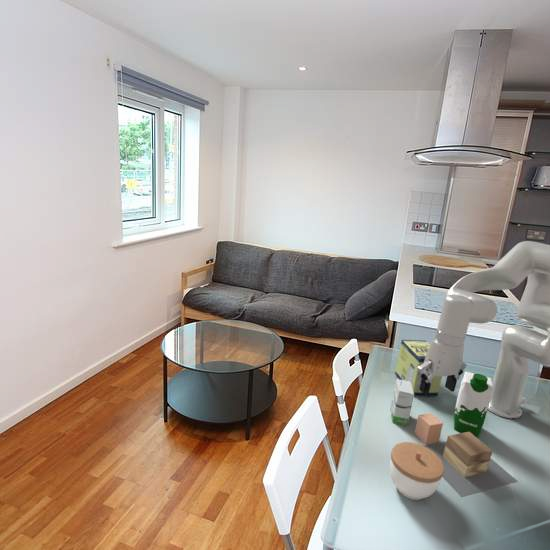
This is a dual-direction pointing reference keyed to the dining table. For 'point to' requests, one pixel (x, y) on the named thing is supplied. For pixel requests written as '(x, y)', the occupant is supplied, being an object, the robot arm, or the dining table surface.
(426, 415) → the terracotta block
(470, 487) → the rubber mat
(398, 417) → the ink box
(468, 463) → the walnut slab
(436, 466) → the lidded bowl
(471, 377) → the milk carton
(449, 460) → the oak slab
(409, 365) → the protein box
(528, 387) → the dining table surface
